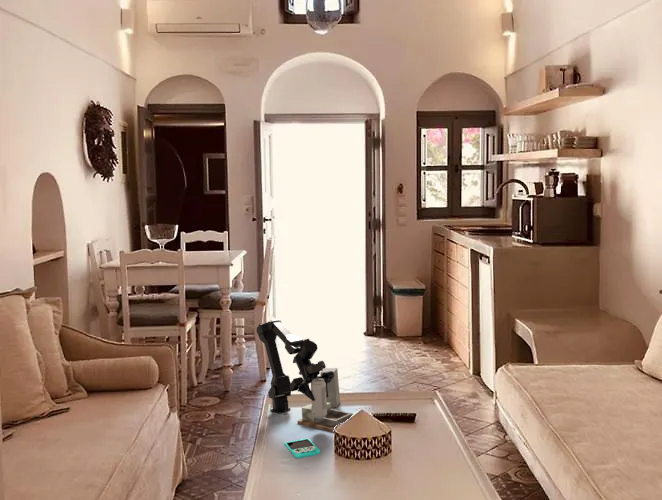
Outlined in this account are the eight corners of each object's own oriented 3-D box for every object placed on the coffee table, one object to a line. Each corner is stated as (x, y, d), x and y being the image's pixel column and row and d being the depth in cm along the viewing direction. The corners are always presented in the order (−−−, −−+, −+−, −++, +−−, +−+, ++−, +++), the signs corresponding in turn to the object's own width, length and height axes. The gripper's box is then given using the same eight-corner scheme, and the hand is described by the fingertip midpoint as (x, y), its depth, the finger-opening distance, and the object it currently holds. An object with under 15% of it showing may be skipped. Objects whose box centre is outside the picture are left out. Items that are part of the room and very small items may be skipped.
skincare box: (337, 407, 322) (335, 372, 320) (321, 407, 323) (319, 372, 322) (340, 401, 330) (339, 367, 328) (325, 401, 332) (323, 367, 330)
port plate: (297, 423, 303) (296, 409, 303) (322, 412, 316) (321, 398, 315) (335, 432, 291) (334, 417, 290) (359, 420, 303) (358, 406, 302)
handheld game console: (295, 459, 266) (295, 456, 266) (283, 445, 281) (283, 441, 281) (322, 455, 270) (321, 451, 269) (308, 441, 285) (308, 437, 284)
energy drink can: (315, 413, 298) (313, 377, 296) (329, 414, 296) (327, 378, 294) (309, 418, 292) (308, 381, 291) (324, 419, 290) (322, 382, 288)
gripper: (291, 359, 289) (307, 393, 282) (331, 351, 300) (347, 383, 292) (282, 374, 297) (298, 407, 289) (321, 366, 307) (337, 398, 299)
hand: (320, 398), depth 292 cm, fingers closed on energy drink can, 6 cm apart
